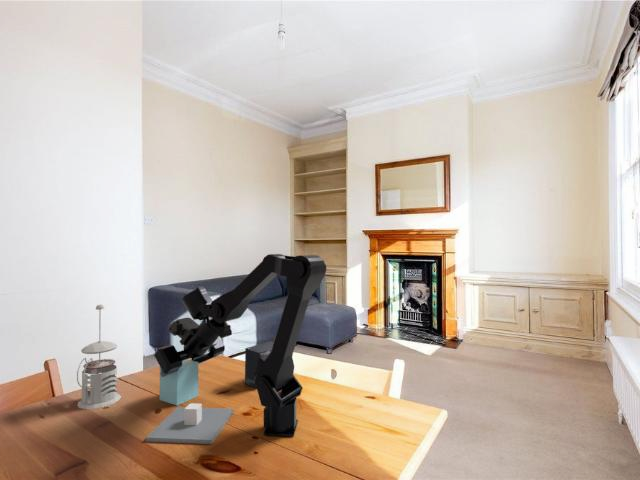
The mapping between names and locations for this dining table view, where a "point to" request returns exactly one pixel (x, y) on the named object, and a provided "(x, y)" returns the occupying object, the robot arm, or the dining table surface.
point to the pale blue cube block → (180, 384)
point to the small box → (255, 360)
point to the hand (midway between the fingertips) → (176, 370)
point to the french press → (98, 376)
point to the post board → (191, 425)
